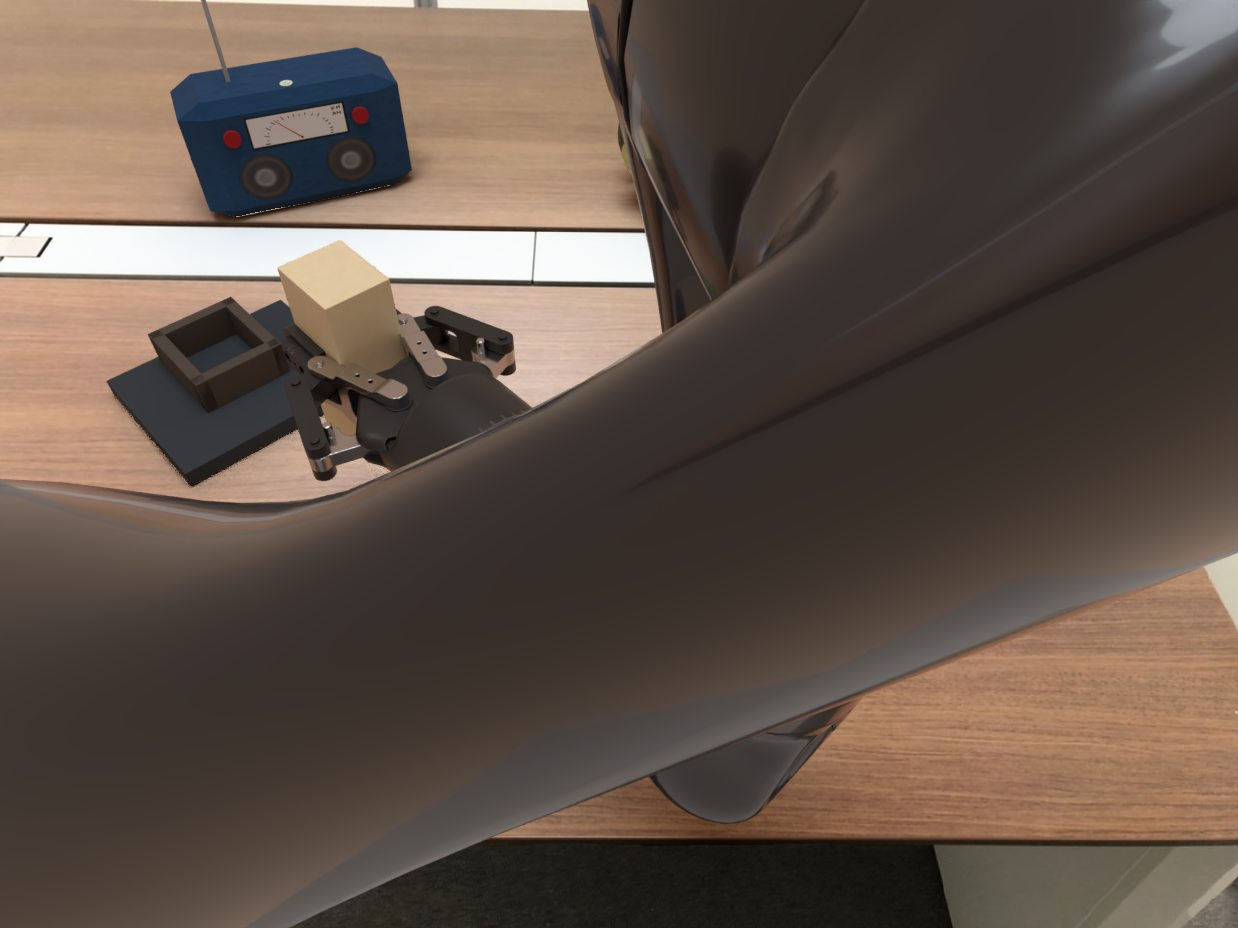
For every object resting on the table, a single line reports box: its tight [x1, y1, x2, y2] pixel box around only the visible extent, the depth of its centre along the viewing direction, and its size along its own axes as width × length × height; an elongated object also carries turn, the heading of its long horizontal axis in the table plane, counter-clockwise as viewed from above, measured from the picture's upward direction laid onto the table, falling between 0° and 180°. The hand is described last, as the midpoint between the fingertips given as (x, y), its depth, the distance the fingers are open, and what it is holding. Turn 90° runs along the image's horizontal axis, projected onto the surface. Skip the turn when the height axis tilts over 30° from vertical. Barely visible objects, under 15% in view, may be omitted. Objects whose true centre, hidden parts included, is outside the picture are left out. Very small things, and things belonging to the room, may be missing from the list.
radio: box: [169, 0, 413, 218], centre depth 89 cm, size 21×9×20 cm, turn 114°
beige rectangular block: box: [276, 239, 406, 464], centre depth 53 cm, size 4×5×12 cm
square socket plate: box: [106, 296, 324, 487], centre depth 74 cm, size 16×14×4 cm
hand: (326, 321), depth 54 cm, fingers closed on beige rectangular block, 4 cm apart
